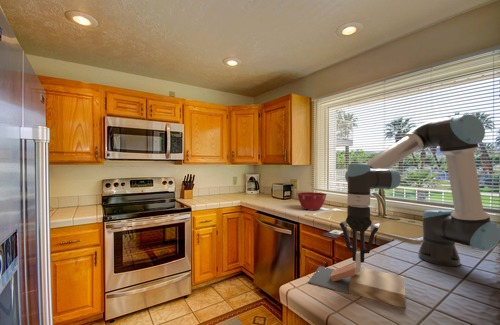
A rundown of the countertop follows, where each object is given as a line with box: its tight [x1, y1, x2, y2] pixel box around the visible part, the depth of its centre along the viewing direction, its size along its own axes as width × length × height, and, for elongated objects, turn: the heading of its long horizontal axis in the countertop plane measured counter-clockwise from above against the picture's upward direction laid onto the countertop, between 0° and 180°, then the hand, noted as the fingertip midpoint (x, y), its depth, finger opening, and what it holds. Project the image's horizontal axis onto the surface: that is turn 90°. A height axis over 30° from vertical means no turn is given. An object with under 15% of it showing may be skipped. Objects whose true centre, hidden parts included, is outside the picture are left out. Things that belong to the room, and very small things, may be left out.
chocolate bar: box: [320, 228, 344, 240], centre depth 147 cm, size 9×1×18 cm
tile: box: [330, 263, 356, 282], centre depth 87 cm, size 9×6×2 cm, turn 59°
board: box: [349, 267, 407, 309], centre depth 81 cm, size 16×14×4 cm
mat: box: [307, 265, 351, 295], centre depth 89 cm, size 14×16×1 cm
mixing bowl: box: [296, 191, 327, 211], centre depth 232 cm, size 28×28×16 cm
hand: (358, 270), depth 84 cm, fingers closed
